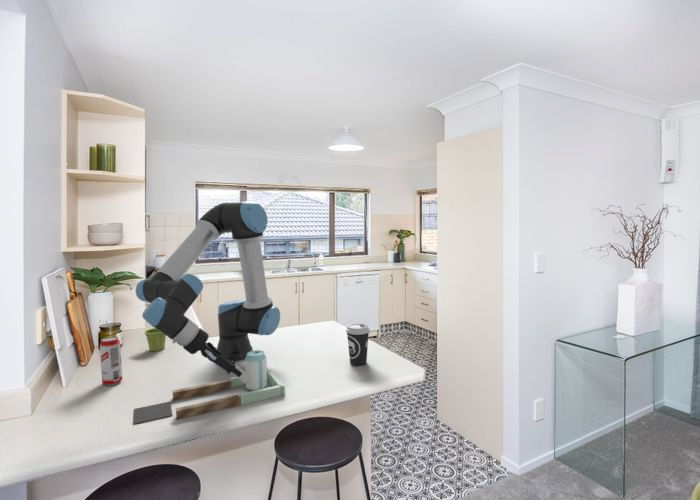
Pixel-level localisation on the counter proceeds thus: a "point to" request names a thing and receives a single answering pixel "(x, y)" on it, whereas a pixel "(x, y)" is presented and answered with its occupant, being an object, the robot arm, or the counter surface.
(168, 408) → the pit mat
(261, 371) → the can
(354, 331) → the coffee cup
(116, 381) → the beer can
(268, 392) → the corral
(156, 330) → the plant pot
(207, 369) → the counter surface
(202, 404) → the channel
